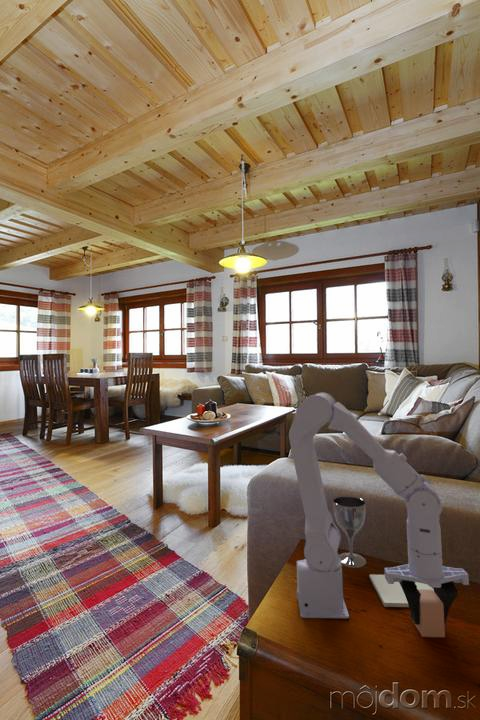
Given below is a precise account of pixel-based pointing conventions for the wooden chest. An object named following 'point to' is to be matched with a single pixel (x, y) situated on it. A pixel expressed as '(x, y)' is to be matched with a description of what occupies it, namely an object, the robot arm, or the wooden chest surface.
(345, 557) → the wine glass
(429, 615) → the block
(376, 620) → the wooden chest surface
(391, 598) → the mat
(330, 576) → the robot arm
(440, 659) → the wooden chest surface
